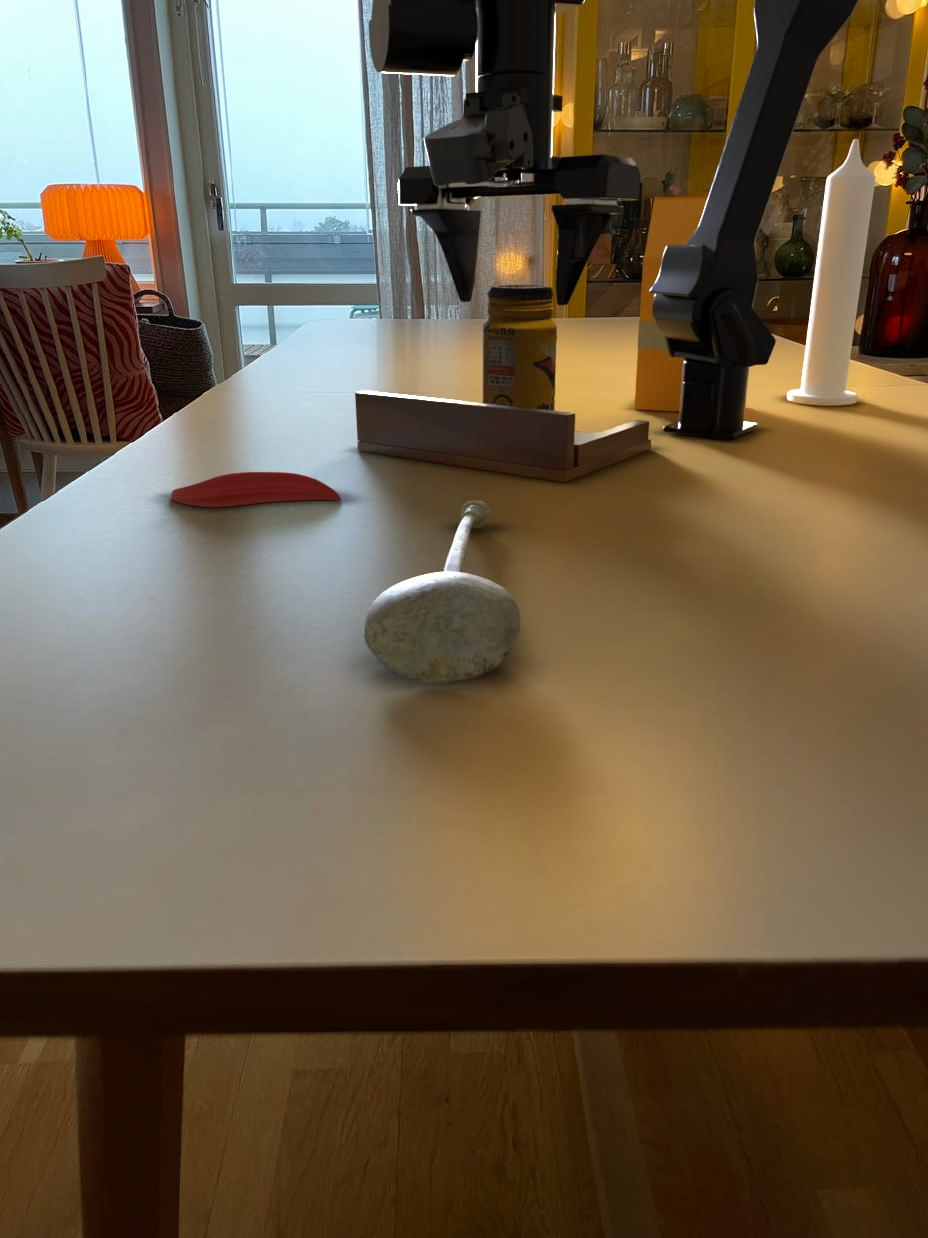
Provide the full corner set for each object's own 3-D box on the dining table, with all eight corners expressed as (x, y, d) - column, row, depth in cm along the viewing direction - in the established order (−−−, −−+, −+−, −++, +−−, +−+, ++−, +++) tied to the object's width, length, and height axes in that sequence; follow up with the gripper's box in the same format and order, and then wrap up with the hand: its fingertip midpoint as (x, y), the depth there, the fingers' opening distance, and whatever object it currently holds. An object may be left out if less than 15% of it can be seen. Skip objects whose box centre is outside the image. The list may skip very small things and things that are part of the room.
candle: (867, 405, 97) (908, 134, 87) (798, 406, 97) (832, 135, 87) (842, 395, 103) (878, 141, 94) (778, 395, 103) (807, 142, 94)
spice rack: (457, 425, 88) (456, 373, 87) (651, 449, 77) (654, 390, 76) (357, 450, 78) (354, 392, 76) (565, 482, 67) (567, 414, 65)
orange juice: (721, 413, 93) (742, 192, 85) (633, 409, 96) (645, 195, 88) (729, 401, 100) (749, 196, 92) (646, 398, 103) (659, 198, 95)
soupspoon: (349, 695, 37) (513, 708, 37) (347, 618, 36) (518, 630, 35) (423, 522, 57) (531, 529, 57) (424, 468, 56) (534, 474, 55)
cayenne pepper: (154, 504, 62) (151, 476, 62) (187, 487, 67) (184, 461, 66) (325, 512, 60) (323, 483, 59) (348, 494, 64) (346, 467, 64)
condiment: (575, 438, 78) (581, 285, 74) (492, 450, 74) (492, 289, 69) (523, 425, 84) (525, 282, 79) (443, 436, 79) (440, 286, 75)
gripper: (345, 78, 68) (356, 305, 73) (570, 46, 57) (562, 313, 63) (439, 95, 76) (442, 298, 82) (650, 70, 66) (636, 304, 72)
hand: (512, 303), depth 74 cm, fingers open, 9 cm apart
